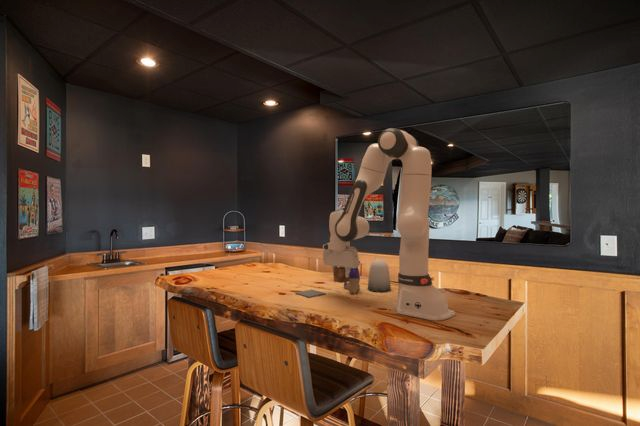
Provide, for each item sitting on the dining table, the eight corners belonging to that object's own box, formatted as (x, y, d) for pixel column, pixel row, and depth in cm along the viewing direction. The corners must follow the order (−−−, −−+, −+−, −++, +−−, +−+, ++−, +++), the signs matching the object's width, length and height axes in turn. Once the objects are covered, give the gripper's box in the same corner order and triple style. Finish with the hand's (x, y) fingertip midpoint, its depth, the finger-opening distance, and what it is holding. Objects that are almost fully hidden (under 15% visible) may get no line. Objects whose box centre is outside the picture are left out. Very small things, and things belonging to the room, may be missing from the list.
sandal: (359, 285, 187) (359, 256, 186) (360, 294, 167) (360, 262, 167) (343, 285, 187) (343, 256, 187) (342, 294, 168) (342, 262, 167)
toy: (390, 287, 181) (390, 257, 181) (391, 292, 170) (391, 261, 170) (368, 286, 183) (368, 257, 183) (367, 291, 172) (367, 260, 172)
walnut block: (349, 281, 163) (348, 267, 163) (341, 282, 159) (340, 269, 159) (341, 279, 166) (341, 266, 166) (333, 281, 163) (333, 268, 163)
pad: (325, 294, 168) (325, 293, 168) (308, 298, 161) (308, 296, 161) (312, 290, 175) (312, 289, 175) (295, 293, 169) (295, 292, 169)
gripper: (361, 246, 157) (363, 277, 157) (330, 244, 173) (331, 273, 173) (351, 247, 153) (352, 280, 153) (320, 245, 169) (321, 275, 169)
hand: (341, 276), depth 163 cm, fingers closed on walnut block, 5 cm apart
